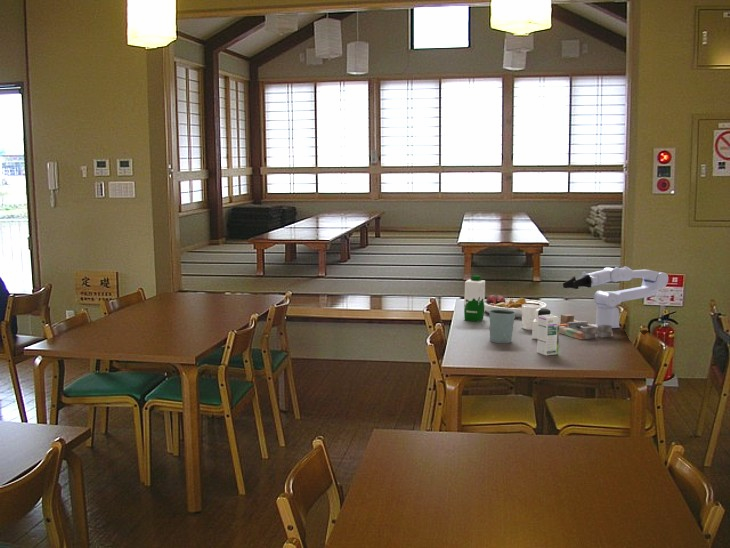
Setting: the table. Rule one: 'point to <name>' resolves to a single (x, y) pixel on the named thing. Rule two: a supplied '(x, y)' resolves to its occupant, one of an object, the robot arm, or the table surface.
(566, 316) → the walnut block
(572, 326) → the gauge plate
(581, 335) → the gauge bed
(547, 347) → the syrup box
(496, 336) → the drinking glass
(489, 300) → the bowl
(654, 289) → the robot arm
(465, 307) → the milk carton
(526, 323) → the white cup
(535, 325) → the medicine bottle
